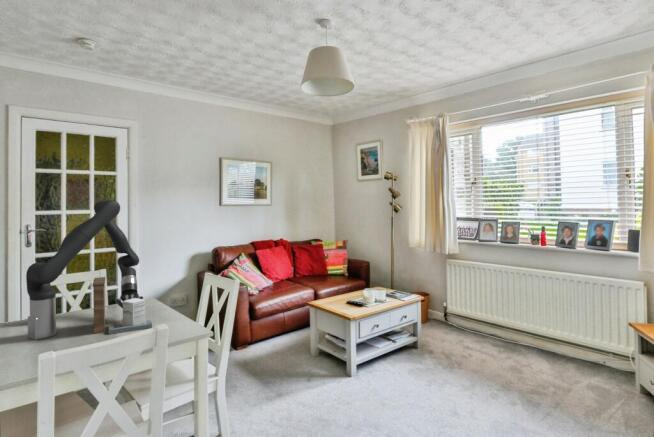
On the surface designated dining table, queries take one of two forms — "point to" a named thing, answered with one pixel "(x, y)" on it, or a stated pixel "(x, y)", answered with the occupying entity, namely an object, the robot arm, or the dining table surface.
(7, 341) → the dining table surface
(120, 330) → the slate bay
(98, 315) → the walnut partition
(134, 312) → the supplement box
